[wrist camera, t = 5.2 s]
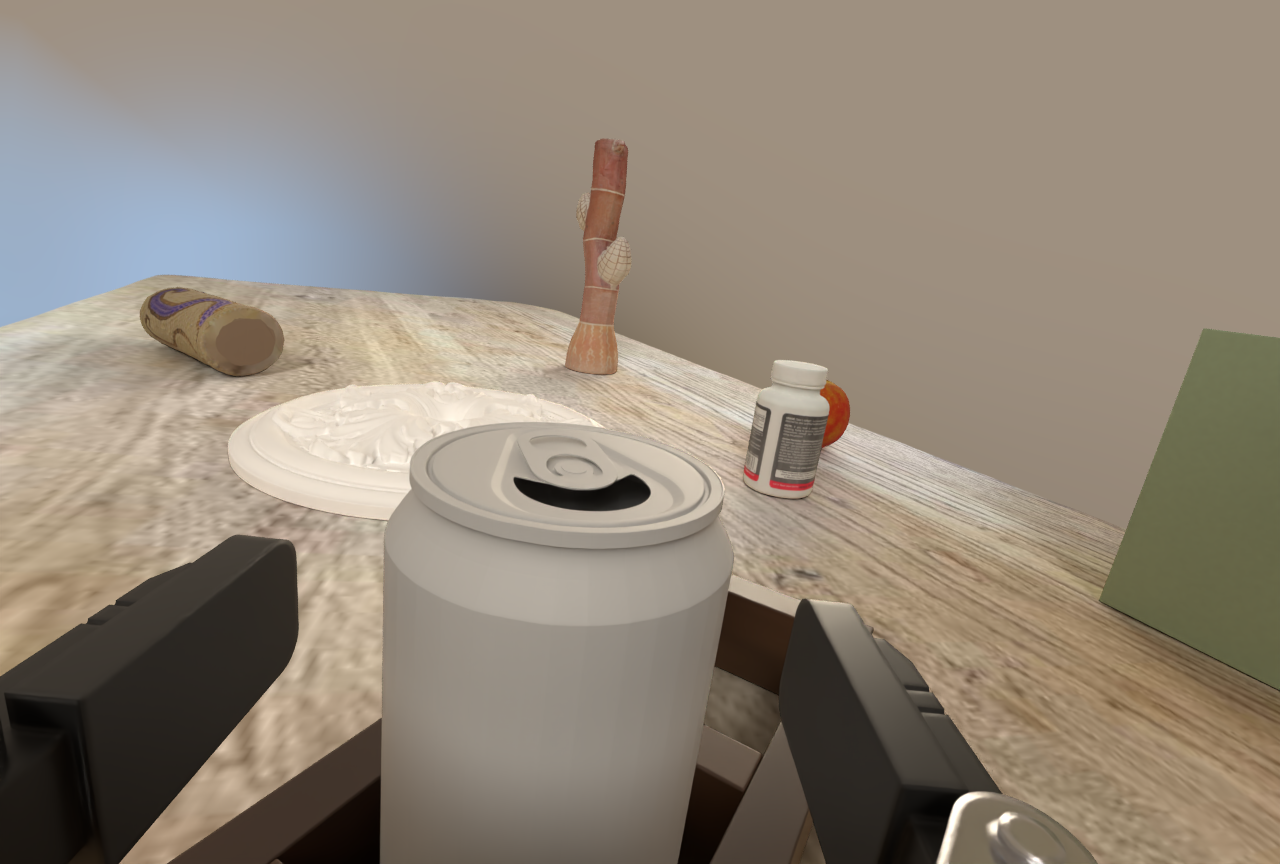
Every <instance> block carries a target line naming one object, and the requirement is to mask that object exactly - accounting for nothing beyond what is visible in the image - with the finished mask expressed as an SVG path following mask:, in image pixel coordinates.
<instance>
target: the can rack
mask: <svg viewBox="0 0 1280 864" xmlns="http://www.w3.org/2000/svg"><path fill="white" fill-rule="evenodd" d="M800 601H801V600H799V599H796V598H794V597H791V596H788V595H786V594H783V593H780V592H778V591H775V590H772V589H770V588H767V587H764V586H762V585H759V584H756V583H754V582H751V581H748V580H746V579H743V578H740V577H738V576H735V575H732V574H731V579H730V585H729V590H728V595H727V601H726V606H725V611H724V617H723V622H722V628H721V633H720V638H719V644H718V649H717V654H716V660H715V666H717V667H719V668H721V669H723V670H726V671H728V672H730V673H732V674H734V675H737V676H739V677H741V678H743V679H745V680H748V681H750V682H752V683H754V684H756V685H759V686H761V687H763V688H765V689H767V690H769V691H772V692H774V693H776V694H778V695H779V687H780V680H781V675H782V671H783V666H784V662H785V658H786V653H787V649H788V644H789V640H790V636H791V631H792V627H793V622H794V618H795V614H796V610H797V607H798V605H799V603H800ZM865 625H866V624H865ZM866 627H867V628H868V630H869V631H870V633H871V635H872V633H873V627H871V626H868V625H866ZM381 741H382V718H381V719H379V720H378V721H376V722H375V723H373V724H372V725H370V726H369V727H367V728H366V729H365V730H363V731H362V732H360V733H359V734H357V735H356V736H354V737H353V738H351V739H350V740H348V741H347V742H345V743H344V744H342V745H341V746H339V747H338V748H337V749H335V750H334V751H332V752H331V753H329V754H328V755H326V756H325V757H323V758H322V759H320V760H319V761H317V762H316V763H314V764H313V765H312V766H310V767H309V768H307V769H306V770H304V771H303V772H301V773H300V774H298V775H297V776H295V777H294V778H292V779H291V780H289V781H288V782H287V783H285V784H284V785H282V786H281V787H279V788H278V789H276V790H275V791H273V792H272V793H270V794H269V795H267V796H266V797H264V798H263V799H261V800H260V801H259V802H257V803H256V804H254V805H253V806H251V807H250V808H248V809H247V810H245V811H244V812H242V813H241V814H239V815H238V816H236V817H235V818H234V819H232V820H231V821H229V822H228V823H226V824H225V825H223V826H222V827H220V828H219V829H217V830H216V831H214V832H213V833H211V834H210V835H208V836H207V837H206V838H204V839H203V840H201V841H200V842H198V843H197V844H195V845H194V846H192V847H191V848H189V849H188V850H186V851H185V852H183V853H182V854H181V855H179V856H178V857H176V858H175V859H173V860H172V861H170V862H169V863H167V864H380V818H381ZM812 825H813V820H812V817H811V814H810V810H809V807H808V804H807V801H806V798H805V795H804V791H803V788H802V785H801V782H800V779H799V776H798V773H797V769H796V766H795V763H794V760H793V757H792V754H791V750H790V747H789V744H788V741H787V738H786V735H785V731H784V728H783V725H782V722H781V721H780V723H779V725H778V727H777V729H776V731H775V733H774V735H773V737H772V739H771V741H770V743H769V745H768V747H767V749H766V751H765V753H764V755H763V757H762V754H761V753H760V752H758V751H756V750H754V749H752V748H750V747H748V746H746V745H744V744H742V743H740V742H738V741H736V740H734V739H732V738H730V737H728V736H726V735H724V734H722V733H720V732H718V731H716V730H714V729H712V728H710V727H708V726H706V725H705V724H703V729H702V735H701V740H700V745H699V751H698V756H697V761H696V767H695V772H694V777H693V783H692V788H691V794H690V799H689V804H688V810H687V815H686V820H685V826H684V831H683V836H682V842H681V847H680V852H679V858H678V863H677V864H800V861H801V858H802V855H803V852H804V849H805V846H806V843H807V840H808V837H809V834H810V831H811V828H812Z"/></svg>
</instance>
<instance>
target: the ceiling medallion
mask: <svg viewBox="0 0 1280 864" xmlns="http://www.w3.org/2000/svg"><path fill="white" fill-rule="evenodd" d="M512 422H551V423H567V424H578V425H586V426H594V427H601V428H604V427H603V426H602V425H600V424H599V423H597V422H595V421H594V420H592V419H590V418H588V417H586V416H585V415H583V414H581V413H579V412H577V411H575V410H573V409H570V408H568V407H565V406H563V405H560V404H557V403H554V402H550V401H547V400H543V399H540V398H536V396H535V395H533V394H527V395H523V394H518V393H512V392H507V391H500V390H494V389H486V388H478V387H468V386H464V385H463V384H460V383H456V382H449V383H447V384H446V385H444V384H443V383H442V382H439V381H432V382H428V383H426V384H384V385H369V386H357V385H354V384H351V385H348V386H347V387H346V388H341V389H334V390H329V391H323V392H318V393H314V394H310V395H306V396H303V397H299V398H296V399H293V400H291V401H288V402H286V403H283V404H280V405H277V406H275V407H272V408H270V409H267V410H265V411H263V412H261V413H259V414H258V415H256V416H254V417H252V418H251V419H249V420H247V421H246V422H244V423H243V424H241V425H240V426H239V427H238V428H237V429H236V430H235V431H234V432H233V433H232V435H231V436H230V439H229V442H228V455H229V462H230V465H231V467H232V469H233V470H234V471H235V473H236V474H237V475H238V476H239V477H240V478H241V479H243V480H244V481H245V482H247V483H248V484H249V485H251V486H253V487H254V488H256V489H258V490H260V491H262V492H264V493H266V494H268V495H271V496H273V497H276V498H278V499H281V500H284V501H287V502H290V503H293V504H297V505H300V506H304V507H308V508H311V509H316V510H320V511H325V512H330V513H335V514H341V515H347V516H354V517H361V518H369V519H379V520H389V519H390V517H391V515H392V513H393V512H394V511H395V509H396V508H397V506H398V505H399V504H400V502H401V501H402V500H403V498H404V497H405V496H406V495H407V493H408V492H409V491H410V490H411V489H412V488H411V485H410V482H409V474H410V461H411V457H412V456H413V454H414V452H415V451H416V450H417V449H418V448H419V447H420V446H422V445H423V444H424V443H426V442H428V441H429V440H431V439H433V438H435V437H438V436H440V435H443V434H446V433H449V432H452V431H456V430H460V429H464V428H469V427H474V426H481V425H488V424H497V423H512Z"/></svg>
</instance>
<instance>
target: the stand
mask: <svg viewBox="0 0 1280 864" xmlns="http://www.w3.org/2000/svg"><path fill="white" fill-rule="evenodd" d="M1099 601H1101V602H1103V603H1105V604H1107V605H1109V606H1111V607H1113V608H1115V609H1117V610H1119V611H1121V612H1123V613H1125V614H1127V615H1129V616H1131V617H1133V618H1135V619H1137V620H1139V621H1141V622H1143V623H1145V624H1147V625H1149V626H1151V627H1153V628H1155V629H1157V630H1159V631H1161V632H1163V633H1165V634H1167V635H1169V636H1171V637H1173V638H1175V639H1177V640H1179V641H1181V642H1183V643H1185V644H1187V645H1189V646H1191V647H1193V648H1195V649H1197V650H1199V651H1201V652H1203V653H1205V654H1207V655H1209V656H1211V657H1213V658H1215V659H1217V660H1219V661H1221V662H1223V663H1225V664H1227V665H1229V666H1231V667H1233V668H1235V669H1237V670H1239V671H1241V672H1244V673H1246V674H1248V675H1250V676H1252V677H1254V678H1256V679H1258V680H1260V681H1262V682H1264V683H1266V684H1268V685H1270V686H1272V687H1274V688H1276V689H1278V690H1280V338H1276V337H1268V336H1259V335H1252V334H1244V333H1236V332H1228V331H1220V330H1212V329H1203V331H1202V334H1201V336H1200V339H1199V342H1198V344H1197V347H1196V350H1195V352H1194V354H1193V357H1192V360H1191V363H1190V365H1189V368H1188V370H1187V373H1186V375H1185V378H1184V381H1183V383H1182V386H1181V388H1180V391H1179V394H1178V396H1177V399H1176V401H1175V404H1174V407H1173V409H1172V412H1171V414H1170V417H1169V420H1168V422H1167V425H1166V428H1165V430H1164V433H1163V435H1162V438H1161V440H1160V443H1159V446H1158V448H1157V451H1156V453H1155V456H1154V459H1153V461H1152V464H1151V467H1150V469H1149V472H1148V474H1147V477H1146V480H1145V483H1144V485H1143V487H1142V490H1141V493H1140V495H1139V498H1138V500H1137V503H1136V506H1135V508H1134V511H1133V513H1132V516H1131V519H1130V521H1129V524H1128V527H1127V529H1126V532H1125V534H1124V537H1123V539H1122V542H1121V545H1120V547H1119V550H1118V553H1117V555H1116V558H1115V560H1114V563H1113V566H1112V568H1111V571H1110V573H1109V576H1108V579H1107V581H1106V584H1105V586H1104V589H1103V592H1102V594H1101V597H1100V599H1099Z"/></svg>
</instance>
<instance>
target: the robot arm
mask: <svg viewBox="0 0 1280 864" xmlns="http://www.w3.org/2000/svg"><path fill="white" fill-rule="evenodd" d="M298 629H299V623H298V592H297V561H296V551H295V548H294V545H293V544H292V543H291V542H290V541H288V540H282V539H273V538H264V537H255V536H246V535H234V536H232V537H230V538H228V539H227V540H225V541H224V542H222V543H221V544H219V545H218V546H216V547H215V548H214V549H212V550H211V551H209V552H208V553H206V554H205V555H203V556H202V557H200V558H199V559H198V560H196V561H195V562H193V563H188V564H185V565H183V566H180V567H178V568H175V569H173V570H170V571H168V572H165V573H162V574H160V575H157V576H155V577H152V578H150V579H148V580H146V581H145V582H143V583H142V584H140V585H139V586H137V587H136V588H134V589H133V590H131V591H130V592H128V593H126V594H125V595H123V596H122V597H120V598H119V599H117V600H116V603H115V605H108V606H107V607H105V608H104V609H102V610H101V611H99V612H98V613H96V614H95V615H93V616H92V617H90V618H88V622H87V623H86V624H79V625H78V626H76V627H75V628H73V629H72V630H70V631H69V632H67V633H66V634H64V635H63V636H61V637H60V638H58V639H57V640H55V641H54V642H52V643H50V644H49V645H47V646H46V647H44V648H43V649H41V650H40V651H38V652H37V653H35V654H34V655H32V656H31V657H29V658H28V659H26V660H25V661H23V662H22V663H20V664H19V665H17V666H16V667H14V668H13V669H11V670H9V671H8V672H6V673H5V674H3V675H2V676H0V864H119V863H120V862H121V860H122V859H123V858H124V857H125V856H126V855H127V853H128V852H129V851H130V850H131V849H132V848H133V846H134V845H135V844H136V843H137V842H138V840H139V839H140V838H141V837H142V836H143V835H144V833H145V832H146V831H147V830H148V829H149V828H150V826H151V825H152V824H153V823H154V822H155V821H156V819H157V818H158V817H159V816H160V815H161V814H162V812H163V811H164V810H165V809H166V808H167V807H168V805H169V804H170V803H171V802H172V801H173V799H174V798H175V797H176V796H177V795H178V794H179V792H180V791H181V790H182V789H183V788H184V787H185V785H186V784H187V783H188V782H189V781H190V780H191V778H192V777H193V776H194V775H195V774H196V773H197V771H198V770H199V769H200V768H201V767H202V766H203V764H204V763H205V762H206V761H207V760H208V758H209V757H210V756H211V755H212V754H213V753H214V751H215V750H216V749H217V748H218V747H219V746H220V744H221V743H222V742H223V741H224V740H225V739H226V737H227V736H228V735H229V734H230V733H231V732H232V730H233V729H234V728H235V727H236V726H237V725H238V723H239V722H240V721H241V720H242V719H243V717H244V716H245V715H246V714H247V713H248V712H249V710H250V709H251V708H252V707H253V706H254V705H255V703H256V702H257V701H258V700H259V699H260V698H261V696H262V695H263V694H264V693H265V692H266V691H267V689H268V688H269V687H270V686H271V685H272V684H273V682H274V681H275V680H276V679H277V678H278V676H279V675H280V674H281V673H282V672H283V670H284V669H285V668H286V666H287V665H288V663H289V661H290V659H291V657H292V654H293V652H294V649H295V646H296V642H297V637H298ZM779 710H780V717H781V722H782V725H783V728H784V731H785V735H786V738H787V741H788V744H789V747H790V750H791V754H792V757H793V760H794V763H795V766H796V769H797V773H798V776H799V779H800V782H801V785H802V788H803V791H804V795H805V798H806V801H807V804H808V807H809V810H810V814H811V817H812V820H813V823H814V826H815V829H816V833H817V836H818V839H819V842H820V845H821V848H822V852H823V855H824V858H825V861H826V864H1098V863H1097V862H1096V860H1095V859H1094V857H1093V856H1092V855H1091V853H1090V852H1089V851H1088V850H1087V849H1086V848H1085V847H1084V846H1083V844H1082V843H1081V842H1080V841H1079V840H1078V839H1077V838H1076V837H1074V836H1073V835H1072V834H1071V833H1070V832H1069V831H1068V830H1067V829H1065V828H1064V827H1063V826H1062V825H1060V824H1059V823H1058V822H1056V821H1055V820H1054V819H1052V818H1051V817H1049V816H1048V815H1046V814H1045V813H1043V812H1041V811H1040V810H1038V809H1036V808H1034V807H1033V806H1031V805H1028V804H1026V803H1024V802H1022V801H1020V800H1017V799H1015V798H1012V797H1009V796H1006V795H1003V794H1002V793H1001V791H1000V790H999V788H998V787H997V785H996V784H995V783H994V781H993V780H992V778H991V777H990V775H989V774H988V772H987V771H986V769H985V768H984V767H983V765H982V764H981V762H980V761H979V759H978V758H977V756H976V755H975V753H974V752H973V751H972V749H971V748H970V746H969V745H968V743H967V742H966V740H965V739H964V737H963V736H962V735H961V733H960V732H959V730H958V729H957V727H956V726H955V724H954V723H953V721H952V720H951V718H950V717H949V716H948V715H945V714H944V708H943V707H942V705H941V704H940V702H939V701H938V700H937V698H936V697H935V695H934V694H933V693H931V692H929V686H928V685H927V684H926V682H925V681H924V679H923V678H922V676H921V675H920V673H919V672H918V670H917V669H916V668H915V666H914V665H913V663H912V662H911V661H910V660H909V659H907V658H906V657H905V656H904V655H903V654H901V653H900V652H899V651H898V650H897V649H895V648H894V647H893V646H892V645H891V644H889V643H888V642H887V641H886V640H884V639H878V638H873V636H872V635H871V633H870V631H869V630H868V628H867V627H866V625H865V623H864V622H863V620H862V619H861V617H860V615H859V614H858V612H857V611H856V609H855V608H854V606H853V605H851V604H849V603H841V602H832V601H823V600H814V599H802V600H801V601H800V603H799V605H798V607H797V610H796V614H795V618H794V622H793V627H792V631H791V636H790V640H789V644H788V649H787V653H786V658H785V662H784V666H783V671H782V675H781V680H780V687H779Z"/></svg>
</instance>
